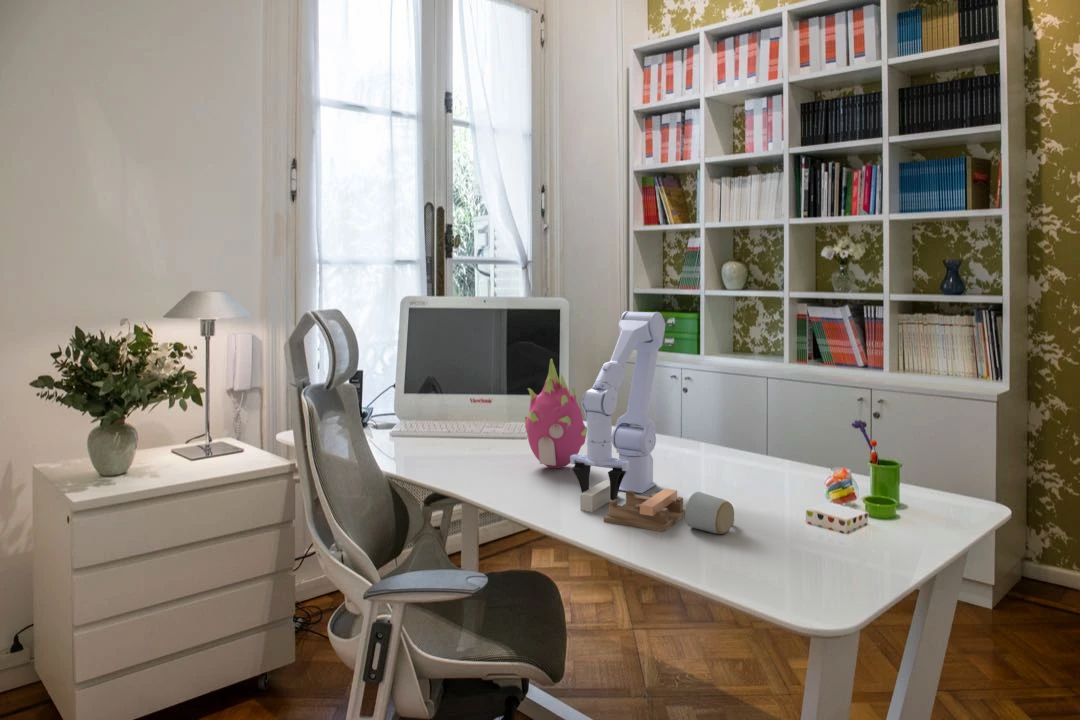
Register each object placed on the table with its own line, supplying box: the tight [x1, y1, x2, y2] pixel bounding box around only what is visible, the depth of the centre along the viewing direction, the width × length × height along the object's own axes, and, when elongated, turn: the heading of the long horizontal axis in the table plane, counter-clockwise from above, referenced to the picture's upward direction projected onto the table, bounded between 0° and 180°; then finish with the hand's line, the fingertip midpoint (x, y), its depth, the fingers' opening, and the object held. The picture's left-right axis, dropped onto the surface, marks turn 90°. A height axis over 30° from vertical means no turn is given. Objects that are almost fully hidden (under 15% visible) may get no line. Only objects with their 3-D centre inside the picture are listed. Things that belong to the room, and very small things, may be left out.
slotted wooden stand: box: [603, 490, 686, 532], centre depth 179 cm, size 14×14×4 cm
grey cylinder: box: [684, 491, 735, 535], centre depth 171 cm, size 11×8×8 cm
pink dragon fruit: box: [524, 358, 587, 469], centre depth 221 cm, size 18×14×30 cm
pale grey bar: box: [579, 479, 619, 512], centre depth 191 cm, size 14×3×4 cm, turn 150°
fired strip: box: [640, 488, 678, 516], centre depth 178 cm, size 14×3×2 cm, turn 149°
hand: (599, 496), depth 191 cm, fingers open, 7 cm apart
